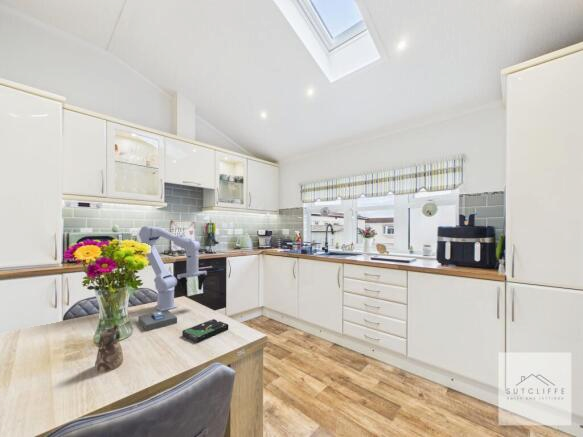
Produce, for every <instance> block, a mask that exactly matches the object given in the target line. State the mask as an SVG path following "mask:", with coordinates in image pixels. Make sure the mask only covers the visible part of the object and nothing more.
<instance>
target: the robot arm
mask: <svg viewBox="0 0 583 437" xmlns="http://www.w3.org/2000/svg"><path fill="white" fill-rule="evenodd" d="M138 236H139V239H140V240H141V244H142V243H146V244H148V245H150V246H151V253H150V254H148V255H146V254H145V255H146V258H147V260H148V261H149V264H150V266H151V268H152V270H153V272H154V275H155V278H154V279H153V281H154V285H155V286H154V287H155V290H157V295H156V296H157V303H156V304H157V305H155V308H156V309H158V310H159V311H162V310H171V309H175V308H177V307H178V306H177V305H175V287H176V286H177V285H178V281H179V283H180V284H181V286H182V290H183V293H184V294H186V293H187V288H188V287H187V284H188V278H193V277H194V278H195V277H197V280H198V281H197V282H198V285H197V286H198V290H200V291H201V290H202V288H203V284H204V281H205V280H206V278H207V275H208V271H207V270H199V250H200V249H201V246H202V245H201V243H200V242H199V241H198V240H197V239H196V240H193V239H192V238H188V237H187V236H185V235H184V234H177V235H176V234H174V233H172V232H170V231H169V230H167V229H165V228H163V227H161V226H158V225H155V226H143V227H141V228H140V230H139V233H138ZM160 237H161V238H164V239H166V240H169V241H171V242H173V245H174V246H177V247H179V248H181V249H183V250H184V252H185V254H186V272H185V273H180V274H177V277H175V276H174V274H173V273H172V272H170V271H168V270H167V267H166V266H165V264H164V262H163V260H162V258H161V256H160V253H159V251H158V250H157V247H156V246H155V244H156V243H157V241H158V240H159V238H160ZM177 279H178V280H177Z"/></svg>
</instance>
